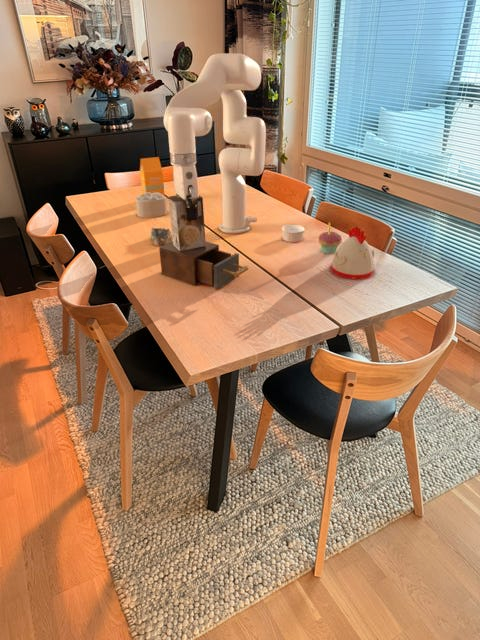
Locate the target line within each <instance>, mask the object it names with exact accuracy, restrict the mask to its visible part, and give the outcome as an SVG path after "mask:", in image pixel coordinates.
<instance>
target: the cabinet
mask: <svg viewBox="0 0 480 640" xmlns="http://www.w3.org/2000/svg"><path fill="white" fill-rule="evenodd" d="M205 242H206V246H204V247H199V248H194V249H189V250H184V251H179V250H178V249H177V248H176V247H175V246H174V245H173V240H171V242H170V243H167V244H162V245H160V246H158V247H159V249H158V251H159V259H160V267H161V268H160V269H161V274H162V275H164V276H165V277H170V278H172V279H175V280H178V281H181V282H184V283H187V284H189V285H191V286H198V285H199V284H201V283H202V282H200V281H197V279H196V263H195V259H197V258H199V257H201V256H203V255H204V254H206V253H208V252H210V251H212V250H214V249H217V250H220V245H219V244H217V243H213V242H209V241H207V240H205Z"/></svg>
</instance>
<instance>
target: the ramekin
mask: <svg viewBox="0 0 480 640" xmlns="http://www.w3.org/2000/svg"><path fill="white" fill-rule="evenodd" d="M281 233H282V235H281V236H282V240H283V241H285V242H287V243H299V242H301V241H302V240H304V235H305V226H302V225H300V224H285V225H283V226H282V227H281Z"/></svg>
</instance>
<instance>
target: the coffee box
mask: <svg viewBox="0 0 480 640" xmlns="http://www.w3.org/2000/svg"><path fill="white" fill-rule="evenodd" d="M188 197H191V196H188ZM188 201H189V202H190V201H191V200H188ZM196 202H197V203H196V204H197V220H192V221H187V217H186V208H187V205H186V201H185V200H184V199H182V198H181V197H180V196H179V195H176V194H175V195H171V196H168V204H169V206H168V208H169V217H170V227H171V237H172V241H173V245H174V246H175V247H176V248H177V249H178V250H179V251H184V250H189V249H194V248H199V247H204V246H206V242H207V241H206V227H205V215H204V213H205V212H204V199H203V197H202V196H201V195H199V197H198V198H197V199H196ZM205 241H206V242H205Z"/></svg>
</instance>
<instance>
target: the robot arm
mask: <svg viewBox="0 0 480 640" xmlns="http://www.w3.org/2000/svg"><path fill="white" fill-rule="evenodd" d="M261 82H262V70H261V67H260V65H259V64H258V63H257V62H256V60H254V59H252V58H251V57H249V55H247V54H243V53H223V52H222V53H214V54H212V55H210V56H209V57H208V58H207V60H206V62H205V63H204V66H203V68H202V70H201V71H200V73H199V75H198V77H197V79H196V81H194V82H193V83H191V84H189V85H187V86H186V87H184V88H182V89H180V90H179V91H178V92H176V93H175V94H174V95H173V96H172V97H171V99H170V101H169V102H168V104H167V106H166V108H165V111H164V114H163V126H164V128H165V130H166V131H167V135H168V147H169V159H170V160H169V161H170V165H172V168H173V172H172V173H173V174H172V175H173V186H174V187H173V188H174V192H175V196H176V195H179V196H180V197H181V198H182V199H184V200H185V201H186V205H187V208H186V217H187V221H192V220H197V204H196V203H197V202H196V199H197V198H198V197H199V196H200V192H199V190H200V189H199V182H198V172H197V167H196V164H197V152H196V151H197V150H196V149H197V147H196V137H203V136H206V135H208V134H209V133H210V131H211V129H212V127H213V117H212V115H211V113H210V112H209V111H208V110H207V109H205V108H206V107H209V106H211V105H214V104H216V103H217V102H218V101H220V98H221V101H222V136H223V139H224V142H226V143H228V144H233V145H243V146H245V145H246V146H250V147H251V148H245V147H226V148H224V149H222V150H221V151H220V152H219V154H218V167H219V171H220V179H221V200H222V203H221V204H222V205H221V206H222V207H221V208H222V209H221V210H222V223H219V226H218V230H219V231H220V232H223V233H226V234H233V235H234V234H236V235H237V234H243V233H246V232H248V231H249V230H250V228H251V225H250V224H251V223H257V222H258V218H257V217H256V216H254V217H252V216H247V184H246V182H245V179H244V177H243V176H250V177H251V176H252V177H257V176H260V175H262V174H263V173H264V169H265V163H266V145H267V143H266V141H267V128H266V127H267V126H266V123H265V120H263V118H260V117H257V116H248V115H247V100H246V97H245V95H244V93H243V92H242V91H256V90H257V89H258V88H259V86H260V84H261ZM188 196H191V197H188ZM188 200H191V201H190V202H189V201H188Z"/></svg>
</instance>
